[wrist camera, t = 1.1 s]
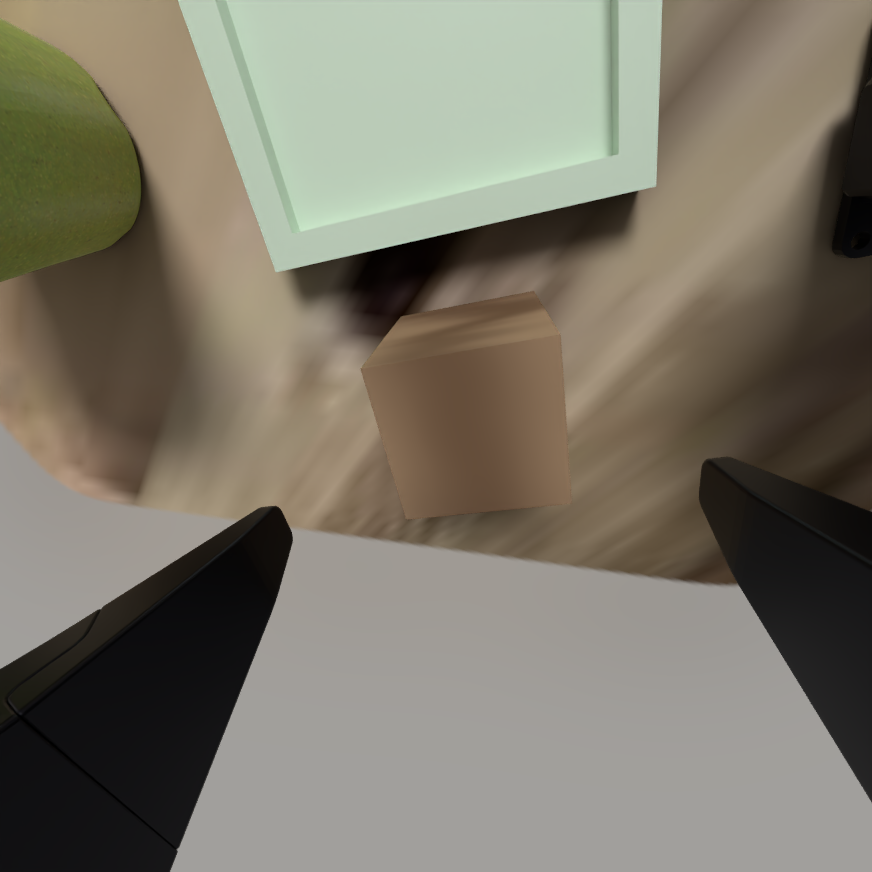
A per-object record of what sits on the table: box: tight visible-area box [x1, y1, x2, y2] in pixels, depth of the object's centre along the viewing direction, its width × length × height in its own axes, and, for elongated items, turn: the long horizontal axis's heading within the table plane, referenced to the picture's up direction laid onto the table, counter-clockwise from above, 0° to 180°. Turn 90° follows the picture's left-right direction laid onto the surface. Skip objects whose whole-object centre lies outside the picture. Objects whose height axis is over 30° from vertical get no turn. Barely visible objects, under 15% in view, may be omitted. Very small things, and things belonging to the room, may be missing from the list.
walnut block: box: [361, 291, 572, 520], centre depth 14 cm, size 5×5×6 cm
